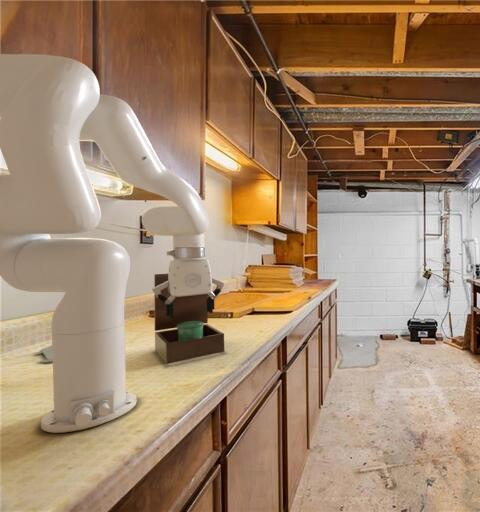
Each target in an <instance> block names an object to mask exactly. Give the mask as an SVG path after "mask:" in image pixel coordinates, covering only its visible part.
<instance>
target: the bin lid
mask: <svg viewBox="0 0 480 512" xmlns="http://www.w3.org/2000/svg"><path fill="white" fill-rule="evenodd" d="M168 274H169V272H165V273H154V275H153V276H154V278H153V280H154V281H153V282H154V283H153V284H154V285H153V286H154V287H156V286H158V285H160V284H162V283H164V282H166V281H168ZM154 287H153V288H154ZM160 292H161V294H162V295H163V296H164V297H167V296H168V294H169V292H168V287H166V288H164V289H162V290H161V291H160ZM153 295H154V331H155V332H159V331H166V330H172V329H177V325H178V324H180V323H183V322H189V321H202V322H204V324H208V322H209V321H208V320H209V312H207V298H208V296H207V295H206V294H200V295H191V296H180V297H175V298H174V300H173V301H172V304H173V315H174V318H173V319H170V318H168V316H166V314H165V303H164V302H163V301H161V300H160V299H158V298H157V296H156V295H155V294H154V293H153Z"/></svg>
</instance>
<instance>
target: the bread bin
mask: <svg viewBox="0 0 480 512" xmlns="http://www.w3.org/2000/svg"><path fill="white" fill-rule="evenodd" d="M154 348H155V349H154V351H156V353H157V354H158V355H159V357H160V358H161V359H162V360H163V362H165V364H166V365H168V364H172V363H178V362H181V361H186V360H191V359H196V358H201V357H204V356H205V357H206V356H210V355H214V354H218V353H224V352H225V333H224V332H222V331H220V330H218V329H217V328H215V327H213V326H212V325H210V324H208V323H204V325H203V337H199V338H193V339H188V340H182V341H178V329H177V328H172V329H165V330H159V331H155V332H154Z"/></svg>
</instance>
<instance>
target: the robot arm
mask: <svg viewBox="0 0 480 512" xmlns="http://www.w3.org/2000/svg"><path fill="white" fill-rule="evenodd" d="M80 142H94V143H95V144H96V145H97V147H98V148H99V150H100V151H101V152H102V154H103V156H104V158H105V159H106V160H107V161H108V163H109V165H110V167H111V168H112V169H113V170H114V173H116V175H117V177H118V178H119V179H120V180H121V181H123V182H124V183H125V184H128V185H130V186H133V187H135V188H138V189H141V190H142V191H143V190H144V191H146V192H150V193H152V194H155V195H158V196H161V197H162V198H164V199H167V200H169V201H171V202H172V203H174V204H175V205H156V206H155V205H153V206H152V207H149V208H147V209H146V210H145V211H144V212H143V214H142V215H141V224H142V226H143V228H144V229H145V230H146V231H147V232H148V233H150V234H152V235H155V236H162V237H166V236H169V237H170V236H171V237H172V249H170V250H166V256H171V257H172V259H170V261H169V265H168V266H169V267H168V273H169V274H168V281H166V282H164V283H162V284H160V285H158V286H156V287H153V288H152V289H151V291H152V292H153V295H154V294H155V295H156V296H157V298H158V299H160V300H161V301H163V302H164V303H165V314H166V316H168V318H170V319H173V318H174V315H173V304H172V301H173V300H174V298H175V297H180V296H191V295H200V294H206V295H207V296H208V298H207V312H208V314H213V313H214V310H215V299H217V297H218V295H219V294H220V293H221V292H222V289H223V288H224V286H225V283H224V282H222V281H220V280H218V279H214V278H212V277H213V276H212V270H211V269H212V268H211V264H210V259H209V258H206V245H205V240H206V239H205V233H206V232H207V231H208V229H209V227H210V218H209V215H208V211H207V209H206V207H205V204H204V203H203V202H204V201H203V200H202V198H201V196H200V194H199V193H198V191H197V190H196V189H195V188H194V187H193V186H192V185H191V184H190V183H189V182H187V181H186V180H184V179H183V178H182V177H180V176H179V175H178V174H177V173H176V172H174V171H172V170H170V169H169V168H167V167H166V166H164V165H163V163H162V162H161V160H160V158H159V156H158V155H157V152H156V151H155V149H154V147H153V145H152V143H151V141H150V140H149V137H148V136H147V134H146V132H145V129H144V128H143V127H142V125H141V122H140V121H139V119H138V117H137V115H136V114H135V112H134V110H133V109H132V107H131V106H130V105H129V104H128V102H126V101H125V100H123V99H122V98H119V97H117V96H114V95H110V94H109V95H108V94H102V93H101V89H100V83H99V80H98V78H97V75H95V73H94V71H93V70H92V69H91V68H90V67H88V65H86V64H84V63H83V62H81V61H79V60H77V59H73V58H70V57H66V56H62V55H61V56H60V55H52V54H34V53H19V54H18V53H14V54H13V53H0V152H1V155H2V157H3V159H4V162H5V165H6V167H7V170H8V173H9V174H0V278H2V280H3V281H4V282H5V283H6V284H8V285H9V286H11V287H12V288H14V289H16V290H19V291H21V292H22V291H23V292H28V293H29V292H32V293H64V295H63V297H62V298H61V299H60V301H59V303H58V304H57V306H56V308H55V309H54V312H53V314H52V318H51V325H50V326H51V327H50V329H51V345H52V357H53V361H52V386H53V388H52V389H53V391H52V392H53V409H51V410H50V411H48V412H47V413H46V414H45V415H43V416H42V418H41V419H40V429H41V430H42V431H43V432H48V433H52V434H53V433H55V434H58V433H70V432H77V431H81V430H85V429H90V428H93V427H97V426H99V425H103V424H105V423H108V422H110V421H113V420H115V419H118V418H120V417H122V416H123V415H125V414H126V413H128V412H130V411H132V409H133V408H134V407H135V406H136V405H137V402H138V398H137V397H138V396H137V395H136V394H135V393H133V392H131V391H127V369H126V368H127V366H126V329H125V327H126V326H125V325H126V323H125V304H126V303H125V301H126V290H127V287H128V286H127V285H128V281H129V277H130V271H131V257H130V255H129V252H128V251H127V249H126V248H125V247H124V246H122V245H121V244H119V243H117V242H116V241H113V240H109V239H104V238H96V237H63V238H61V237H60V238H58V237H56V238H55V237H54V238H53V237H51V235H69V234H71V235H73V234H82V233H85V232H90V231H92V230H93V229H95V228H96V227H97V226H98V225H99V224H100V223H101V219H102V212H101V207H100V203H99V201H98V197H97V194H96V192H95V189H94V186H93V183H92V180H91V177H90V176H89V173H88V170H87V166H86V163H85V161H84V157H83V154H82V151H81V147H80ZM213 285H215V286H216V287H215V289H213ZM166 287H168V292H169V294H168V296H167V297H164V296H163V295H162V294H161V292H160V291H161V290H162V289H164V288H166ZM155 295H154V296H155Z"/></svg>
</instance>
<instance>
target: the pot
mask: <svg viewBox="0 0 480 512" xmlns="http://www.w3.org/2000/svg"><path fill="white" fill-rule="evenodd" d="M203 325H205V323H204V322H202V321H189V322H183V323H180V324H178V325H177V328H176V329H178V341H182V340H188V339H193V338H199V337H203Z"/></svg>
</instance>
